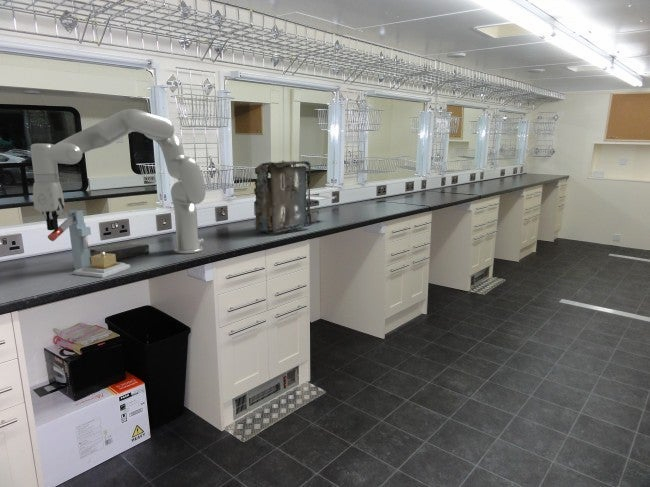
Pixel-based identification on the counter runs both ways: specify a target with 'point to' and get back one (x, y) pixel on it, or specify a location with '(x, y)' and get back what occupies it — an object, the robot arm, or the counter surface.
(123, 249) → the stone block
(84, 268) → the press
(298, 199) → the machinery component
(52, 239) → the lever
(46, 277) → the counter surface
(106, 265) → the housing
